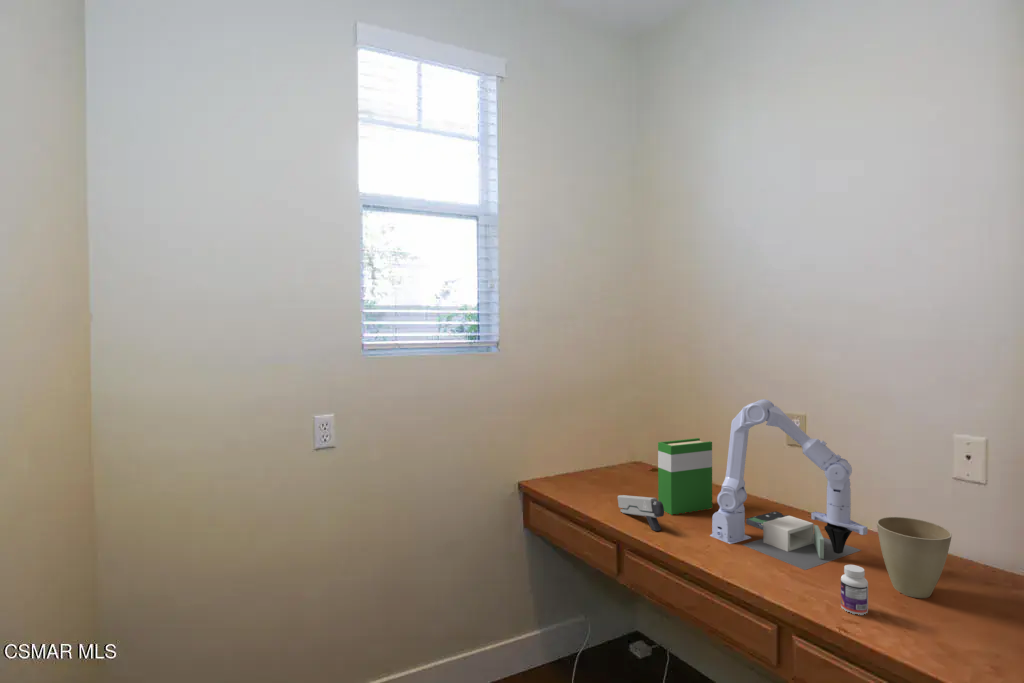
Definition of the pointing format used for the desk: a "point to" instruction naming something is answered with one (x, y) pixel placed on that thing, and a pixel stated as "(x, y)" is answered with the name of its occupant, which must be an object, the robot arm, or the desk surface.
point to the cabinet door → (819, 542)
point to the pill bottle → (854, 590)
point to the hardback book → (685, 475)
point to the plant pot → (913, 553)
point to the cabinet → (788, 533)
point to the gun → (642, 508)
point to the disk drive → (763, 519)
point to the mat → (801, 553)
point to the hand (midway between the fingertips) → (838, 552)
